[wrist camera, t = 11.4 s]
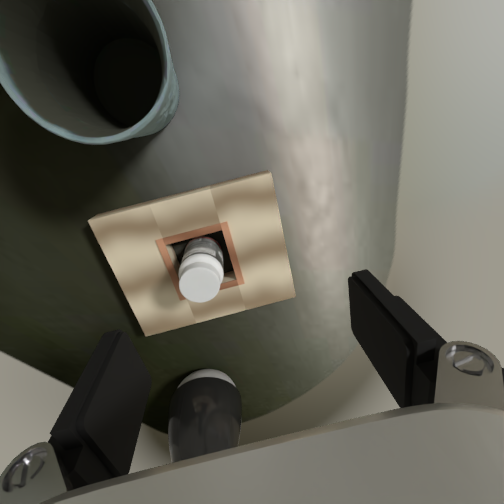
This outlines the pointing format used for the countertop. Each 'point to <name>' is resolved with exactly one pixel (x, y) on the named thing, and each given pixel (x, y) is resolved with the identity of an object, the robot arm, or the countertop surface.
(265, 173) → the socket plate
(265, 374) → the countertop surface
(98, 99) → the blue green cup
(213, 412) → the dark rounded oval
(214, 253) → the pill bottle
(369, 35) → the countertop surface
